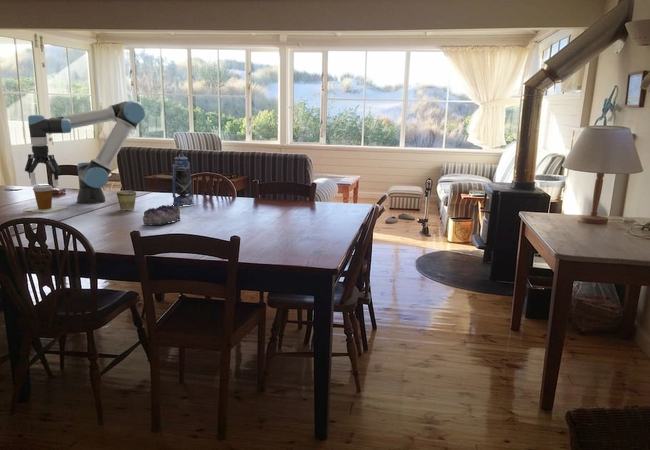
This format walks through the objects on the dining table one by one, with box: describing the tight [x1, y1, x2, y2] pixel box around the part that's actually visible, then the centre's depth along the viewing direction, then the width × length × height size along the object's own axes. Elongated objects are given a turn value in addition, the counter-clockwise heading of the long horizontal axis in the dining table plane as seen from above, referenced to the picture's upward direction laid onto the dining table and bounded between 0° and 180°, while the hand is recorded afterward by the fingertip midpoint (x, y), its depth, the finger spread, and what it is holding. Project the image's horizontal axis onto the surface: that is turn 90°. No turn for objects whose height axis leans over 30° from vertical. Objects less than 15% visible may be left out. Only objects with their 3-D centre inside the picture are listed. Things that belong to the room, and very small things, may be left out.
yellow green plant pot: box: [116, 190, 137, 211], centre depth 273 cm, size 13×10×10 cm
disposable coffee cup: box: [32, 184, 54, 209], centre depth 266 cm, size 10×10×12 cm
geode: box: [142, 204, 181, 226], centre depth 245 cm, size 20×12×10 cm, turn 154°
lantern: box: [171, 153, 194, 206], centre depth 288 cm, size 15×12×30 cm
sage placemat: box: [22, 205, 69, 214], centre depth 267 cm, size 15×15×1 cm
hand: (44, 185), depth 265 cm, fingers open, 13 cm apart
